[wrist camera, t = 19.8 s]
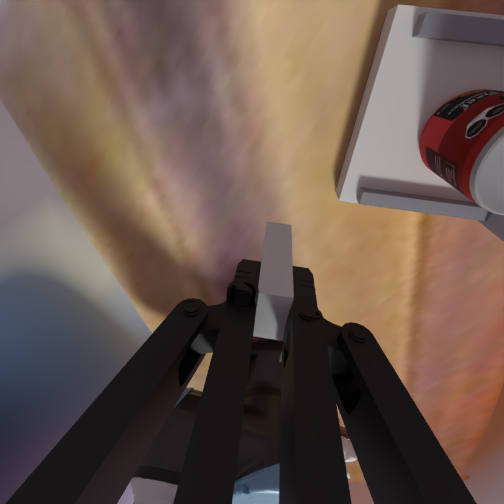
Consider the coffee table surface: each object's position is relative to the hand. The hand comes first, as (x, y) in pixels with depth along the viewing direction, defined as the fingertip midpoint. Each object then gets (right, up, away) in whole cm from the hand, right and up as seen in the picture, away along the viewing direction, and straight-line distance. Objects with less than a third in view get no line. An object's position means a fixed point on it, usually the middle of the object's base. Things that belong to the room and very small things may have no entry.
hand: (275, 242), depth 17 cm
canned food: (+20, +12, +11) cm, 25 cm away
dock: (+19, +13, +13) cm, 27 cm away
